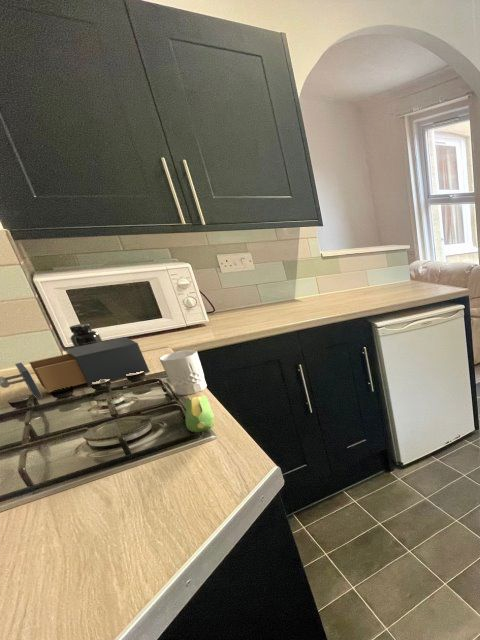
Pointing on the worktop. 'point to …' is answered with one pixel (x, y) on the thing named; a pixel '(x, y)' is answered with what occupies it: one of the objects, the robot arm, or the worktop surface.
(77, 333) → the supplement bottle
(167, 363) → the white cup
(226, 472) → the worktop surface
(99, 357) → the cabinet
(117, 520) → the worktop surface
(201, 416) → the edible corn
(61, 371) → the drawer
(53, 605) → the worktop surface
